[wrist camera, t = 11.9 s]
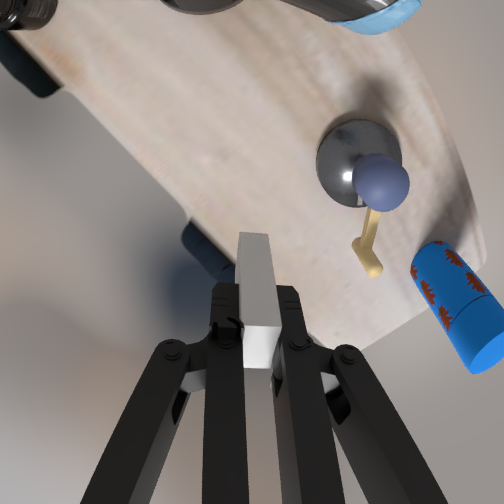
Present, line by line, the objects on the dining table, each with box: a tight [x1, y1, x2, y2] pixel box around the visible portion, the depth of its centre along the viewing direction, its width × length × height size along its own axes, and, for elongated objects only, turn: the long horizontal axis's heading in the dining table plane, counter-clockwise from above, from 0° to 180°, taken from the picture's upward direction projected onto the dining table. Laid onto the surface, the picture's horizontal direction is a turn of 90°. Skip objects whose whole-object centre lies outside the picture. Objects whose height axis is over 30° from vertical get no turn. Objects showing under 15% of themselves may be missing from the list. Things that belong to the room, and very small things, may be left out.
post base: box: [316, 119, 402, 208], centre depth 43 cm, size 14×14×6 cm
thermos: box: [410, 241, 504, 374], centre depth 47 cm, size 11×11×25 cm
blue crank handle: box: [352, 153, 410, 278], centre depth 40 cm, size 16×7×7 cm, turn 177°
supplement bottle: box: [0, 0, 56, 30], centre depth 23 cm, size 7×7×12 cm
